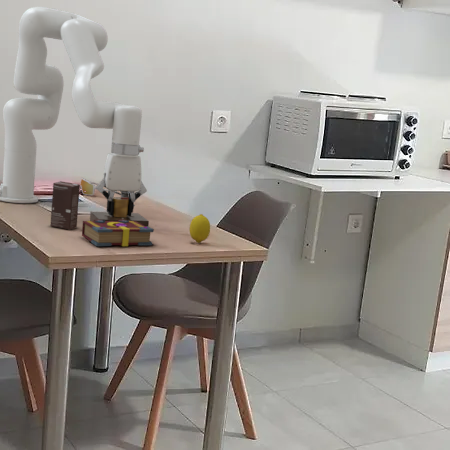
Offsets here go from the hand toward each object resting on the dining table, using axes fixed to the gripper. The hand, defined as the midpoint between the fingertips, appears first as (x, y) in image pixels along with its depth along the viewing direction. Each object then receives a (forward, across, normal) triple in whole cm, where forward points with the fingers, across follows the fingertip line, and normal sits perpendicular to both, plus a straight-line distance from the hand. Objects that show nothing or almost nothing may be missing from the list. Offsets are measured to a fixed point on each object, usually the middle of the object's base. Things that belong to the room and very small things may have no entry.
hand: (119, 214), depth 211 cm
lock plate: (+4, 0, 0) cm, 4 cm away
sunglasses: (+4, -8, -55) cm, 56 cm away
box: (+4, +16, +3) cm, 17 cm away
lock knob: (0, 0, 0) cm, 0 cm away
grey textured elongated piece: (+4, -6, -16) cm, 17 cm away
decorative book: (+4, +5, +19) cm, 20 cm away
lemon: (+4, -17, +19) cm, 26 cm away
